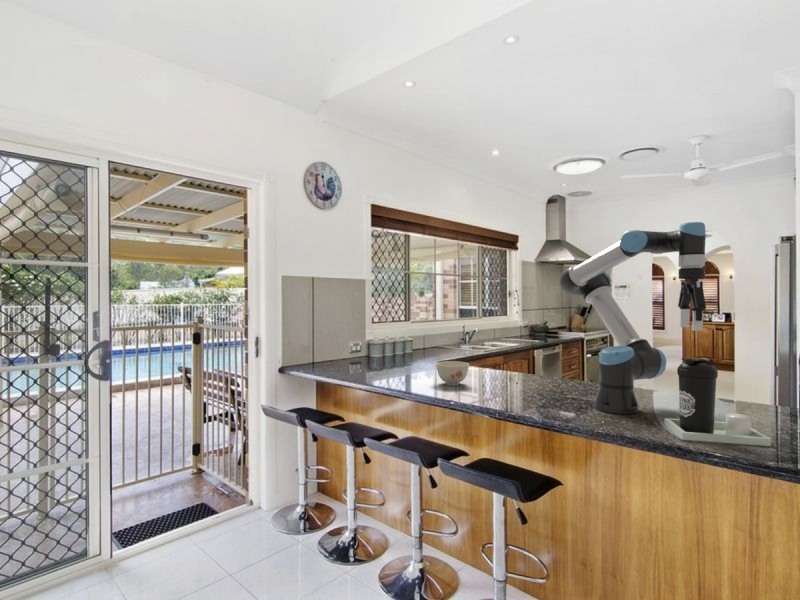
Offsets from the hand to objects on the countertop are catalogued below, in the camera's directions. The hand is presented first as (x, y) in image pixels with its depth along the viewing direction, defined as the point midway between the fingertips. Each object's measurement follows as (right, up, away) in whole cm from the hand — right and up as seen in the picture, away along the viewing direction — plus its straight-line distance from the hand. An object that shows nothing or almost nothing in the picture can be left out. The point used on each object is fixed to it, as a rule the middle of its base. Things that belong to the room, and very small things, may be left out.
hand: (690, 328), depth 148 cm
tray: (-5, -32, -18) cm, 37 cm away
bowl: (-76, -31, +58) cm, 100 cm away
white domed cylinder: (+1, -31, -20) cm, 37 cm away
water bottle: (-10, -31, -17) cm, 37 cm away
